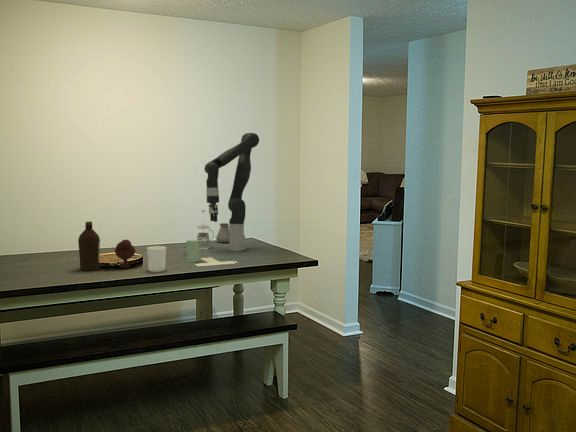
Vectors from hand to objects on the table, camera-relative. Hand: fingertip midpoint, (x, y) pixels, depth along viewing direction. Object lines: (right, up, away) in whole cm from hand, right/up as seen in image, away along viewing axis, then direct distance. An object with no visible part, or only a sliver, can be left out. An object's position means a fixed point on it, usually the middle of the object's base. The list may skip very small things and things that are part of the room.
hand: (213, 221), depth 348 cm
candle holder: (-23, -25, -52) cm, 62 cm away
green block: (-9, -23, -26) cm, 36 cm away
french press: (-8, -18, +18) cm, 26 cm away
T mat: (+2, -23, -26) cm, 34 cm away
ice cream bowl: (-42, -24, -45) cm, 66 cm away
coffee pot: (+4, -16, +39) cm, 42 cm away
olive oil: (-58, -25, -53) cm, 82 cm away
